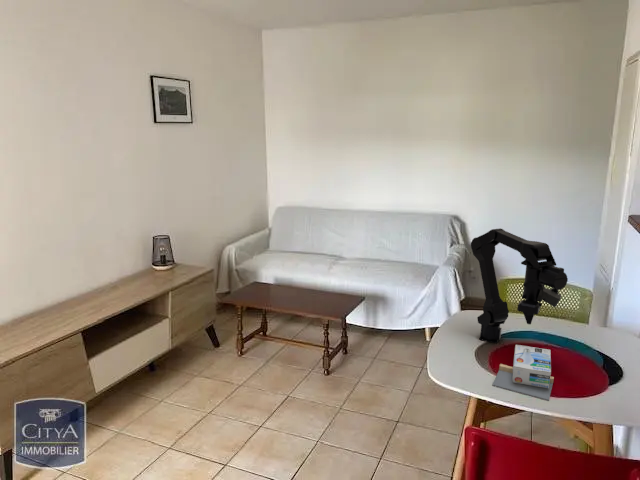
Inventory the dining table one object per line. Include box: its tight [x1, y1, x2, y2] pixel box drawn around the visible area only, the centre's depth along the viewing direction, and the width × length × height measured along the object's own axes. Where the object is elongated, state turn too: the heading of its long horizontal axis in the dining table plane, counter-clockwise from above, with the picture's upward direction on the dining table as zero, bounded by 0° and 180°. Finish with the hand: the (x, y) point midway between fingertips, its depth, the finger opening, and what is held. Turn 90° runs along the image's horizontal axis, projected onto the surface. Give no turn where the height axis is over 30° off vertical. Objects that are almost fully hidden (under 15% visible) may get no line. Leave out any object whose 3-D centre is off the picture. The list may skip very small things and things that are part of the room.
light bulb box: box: [512, 344, 552, 388], centre depth 148 cm, size 11×7×11 cm
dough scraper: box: [491, 363, 555, 401], centre depth 147 cm, size 16×12×2 cm
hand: (529, 323), depth 160 cm, fingers closed
